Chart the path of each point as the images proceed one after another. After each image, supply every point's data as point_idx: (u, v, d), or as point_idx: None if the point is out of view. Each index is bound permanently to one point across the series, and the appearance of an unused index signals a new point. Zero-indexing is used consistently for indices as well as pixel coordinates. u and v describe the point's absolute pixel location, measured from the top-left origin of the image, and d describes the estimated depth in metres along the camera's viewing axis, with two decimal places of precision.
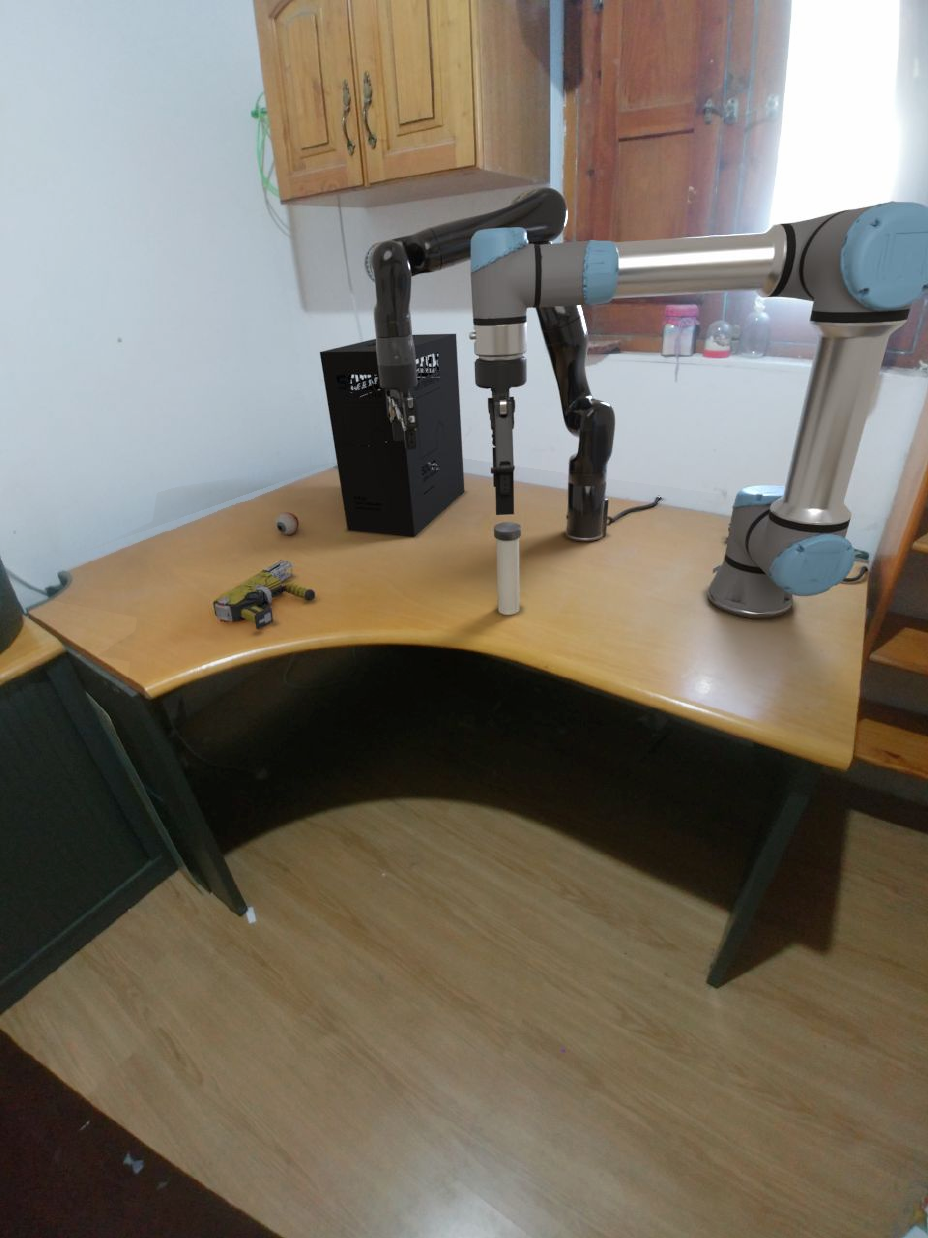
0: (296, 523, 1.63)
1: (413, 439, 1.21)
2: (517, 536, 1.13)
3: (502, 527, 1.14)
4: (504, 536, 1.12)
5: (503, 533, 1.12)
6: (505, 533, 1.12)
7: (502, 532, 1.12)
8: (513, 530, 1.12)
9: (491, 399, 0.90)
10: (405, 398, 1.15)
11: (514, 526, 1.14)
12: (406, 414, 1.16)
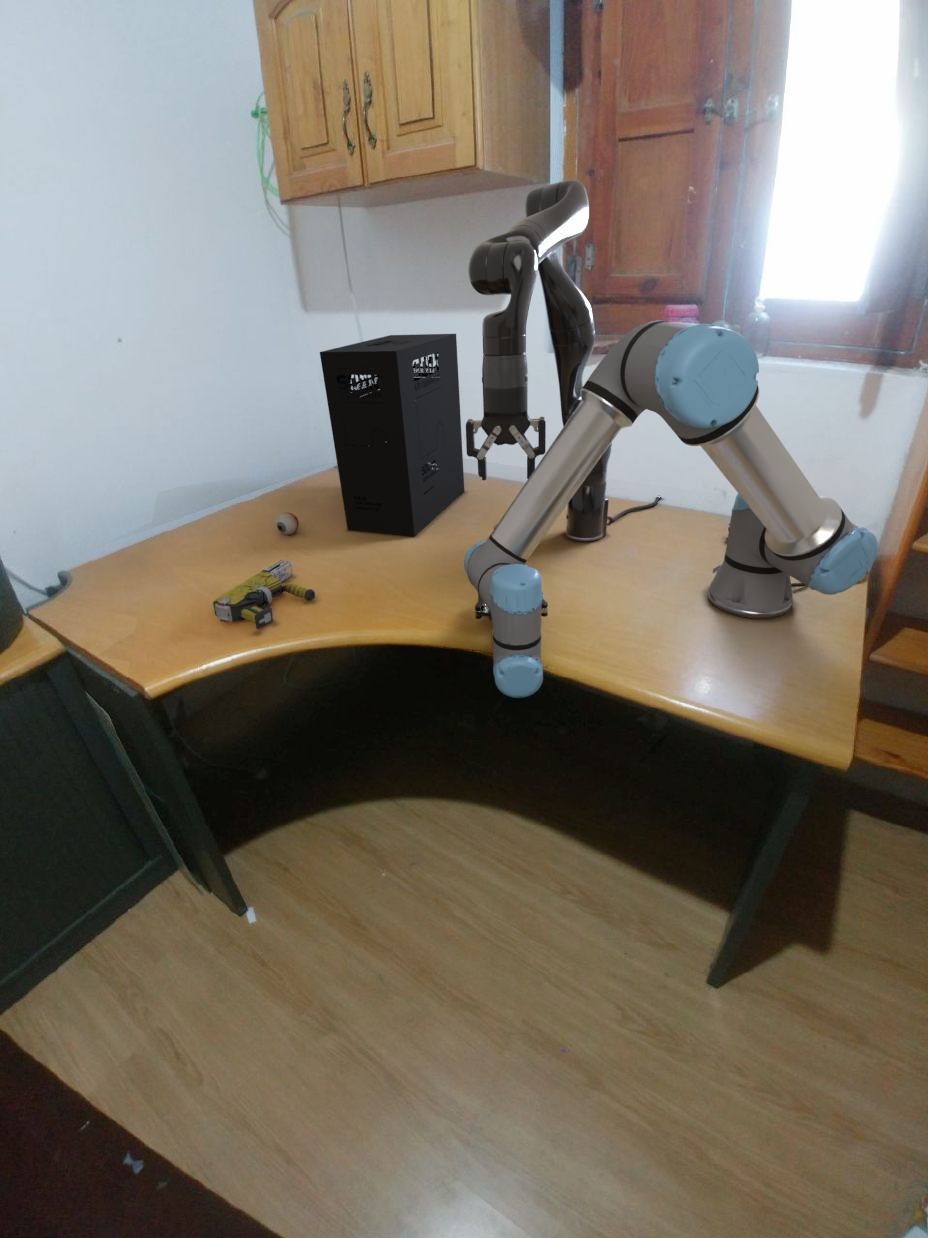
0: (296, 523, 1.63)
1: None
2: None
3: None
4: None
5: None
6: None
7: None
8: None
9: None
10: (544, 420, 1.02)
11: None
12: None
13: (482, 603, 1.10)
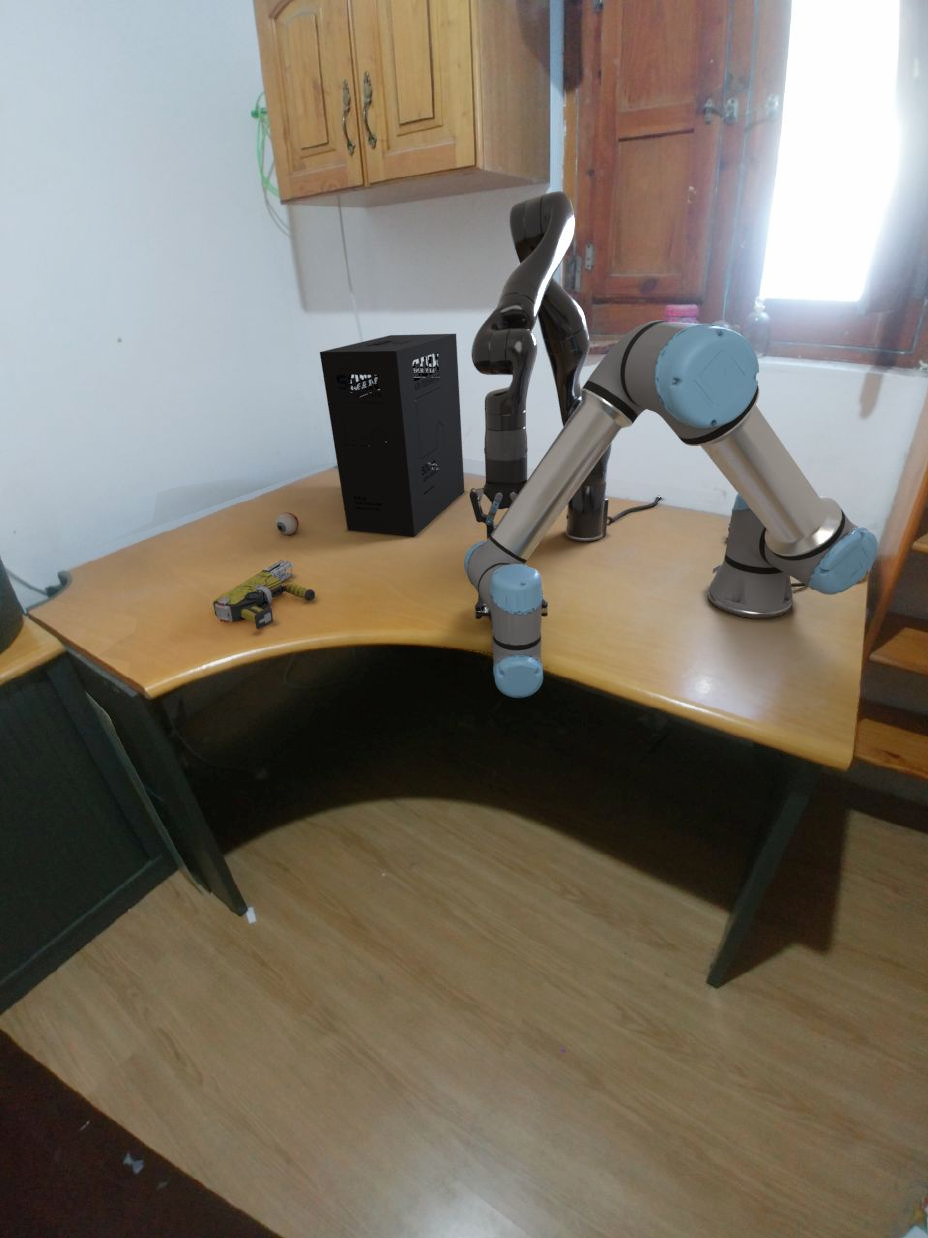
0: (296, 523, 1.63)
1: None
2: None
3: None
4: None
5: None
6: None
7: None
8: None
9: None
10: None
11: None
12: None
13: (482, 603, 1.10)
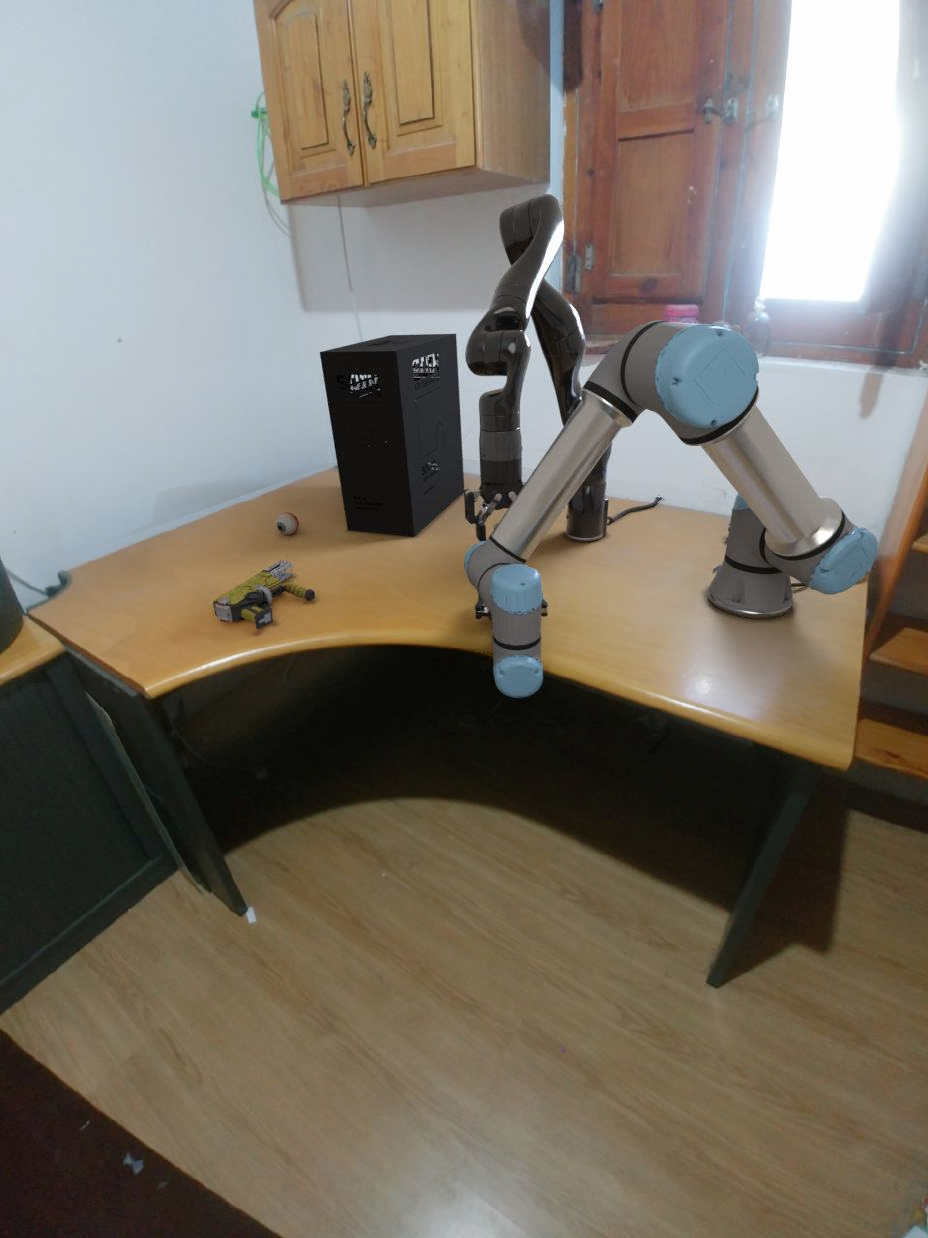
0: (296, 523, 1.63)
1: None
2: None
3: None
4: None
5: None
6: None
7: None
8: None
9: None
10: None
11: None
12: None
13: (482, 603, 1.10)
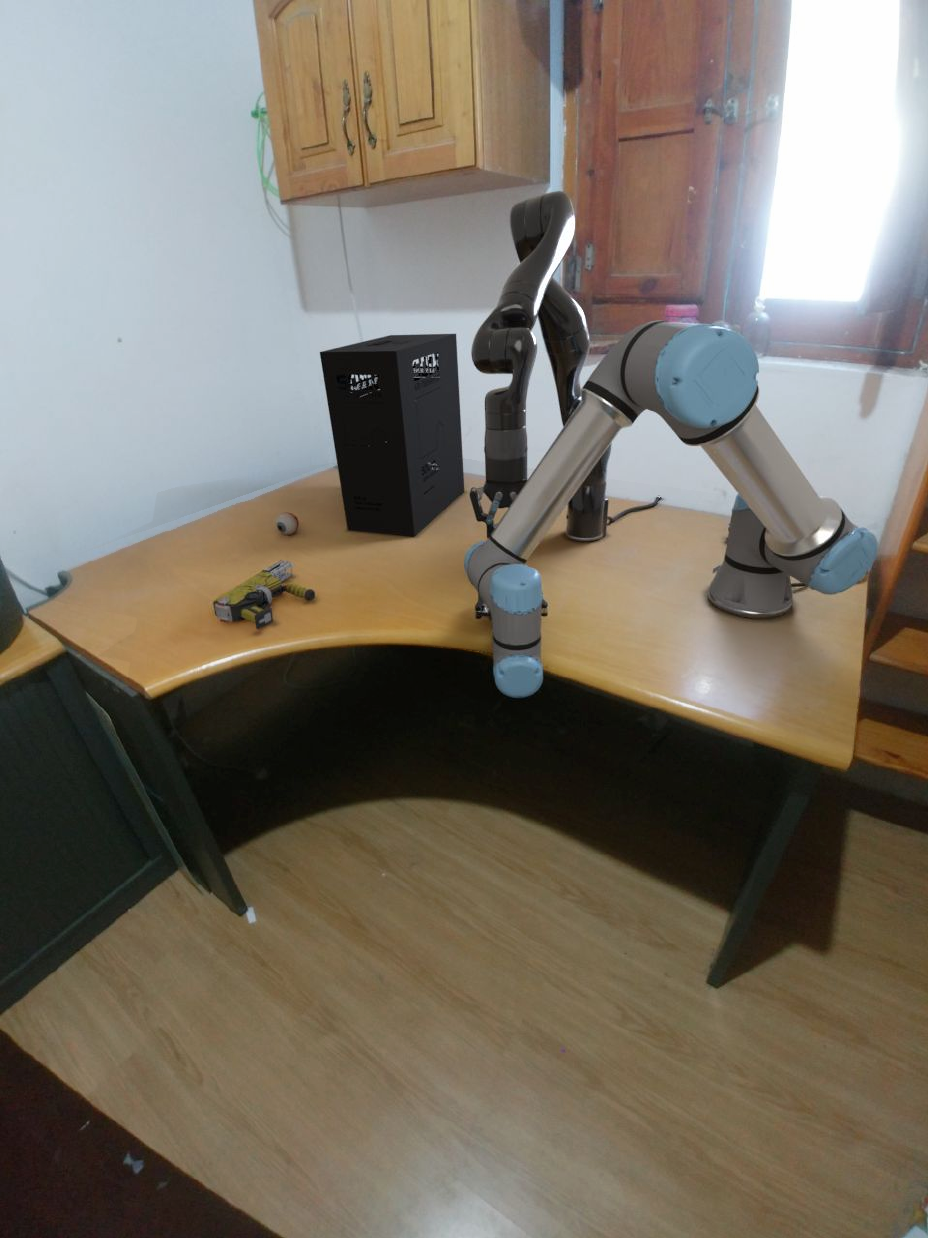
0: (296, 523, 1.63)
1: None
2: None
3: None
4: None
5: None
6: None
7: None
8: None
9: None
10: None
11: None
12: None
13: (482, 603, 1.10)
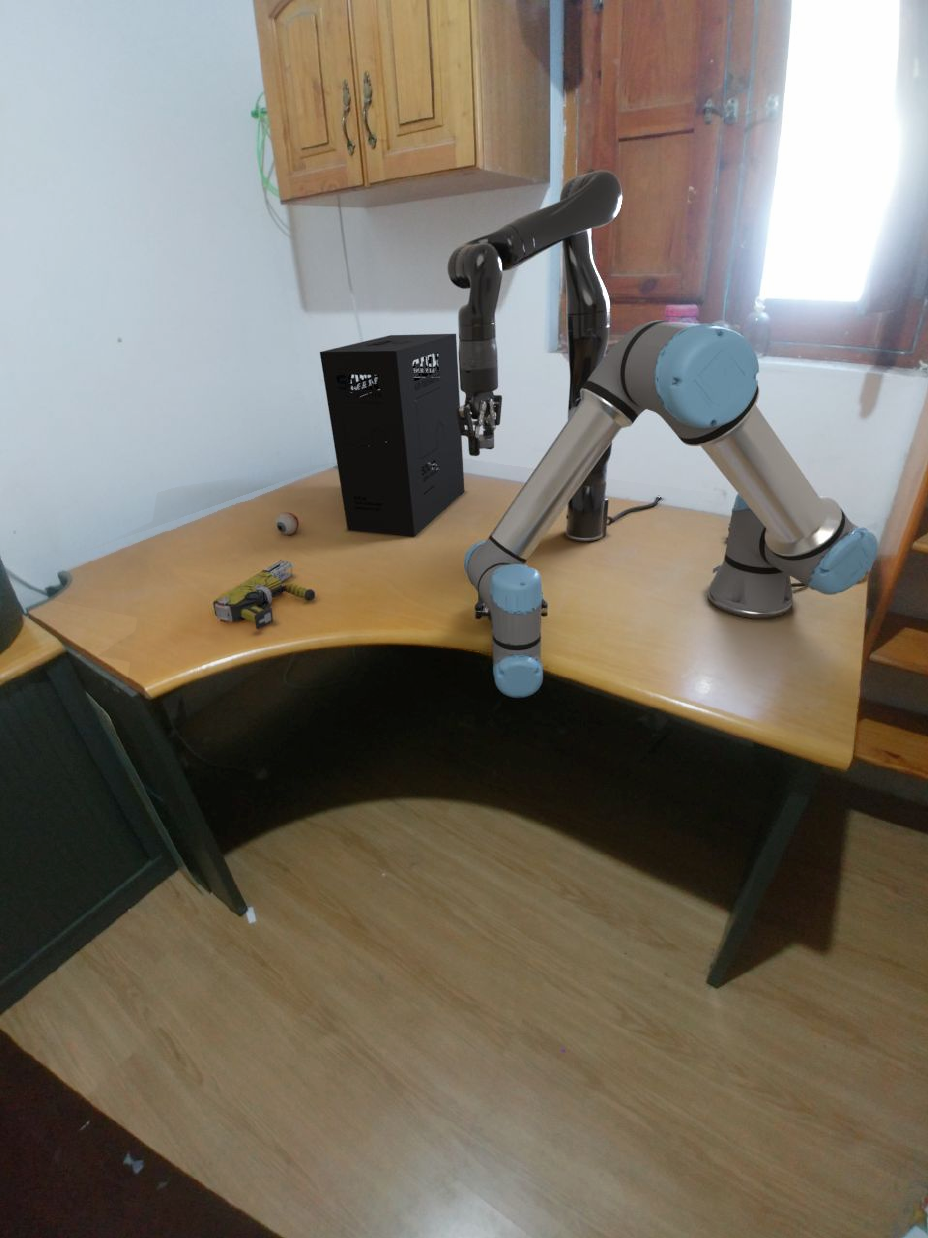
0: (296, 523, 1.63)
1: None
2: None
3: (484, 437, 1.24)
4: None
5: None
6: None
7: (492, 436, 1.25)
8: (485, 434, 1.26)
9: None
10: None
11: None
12: None
13: (482, 603, 1.10)
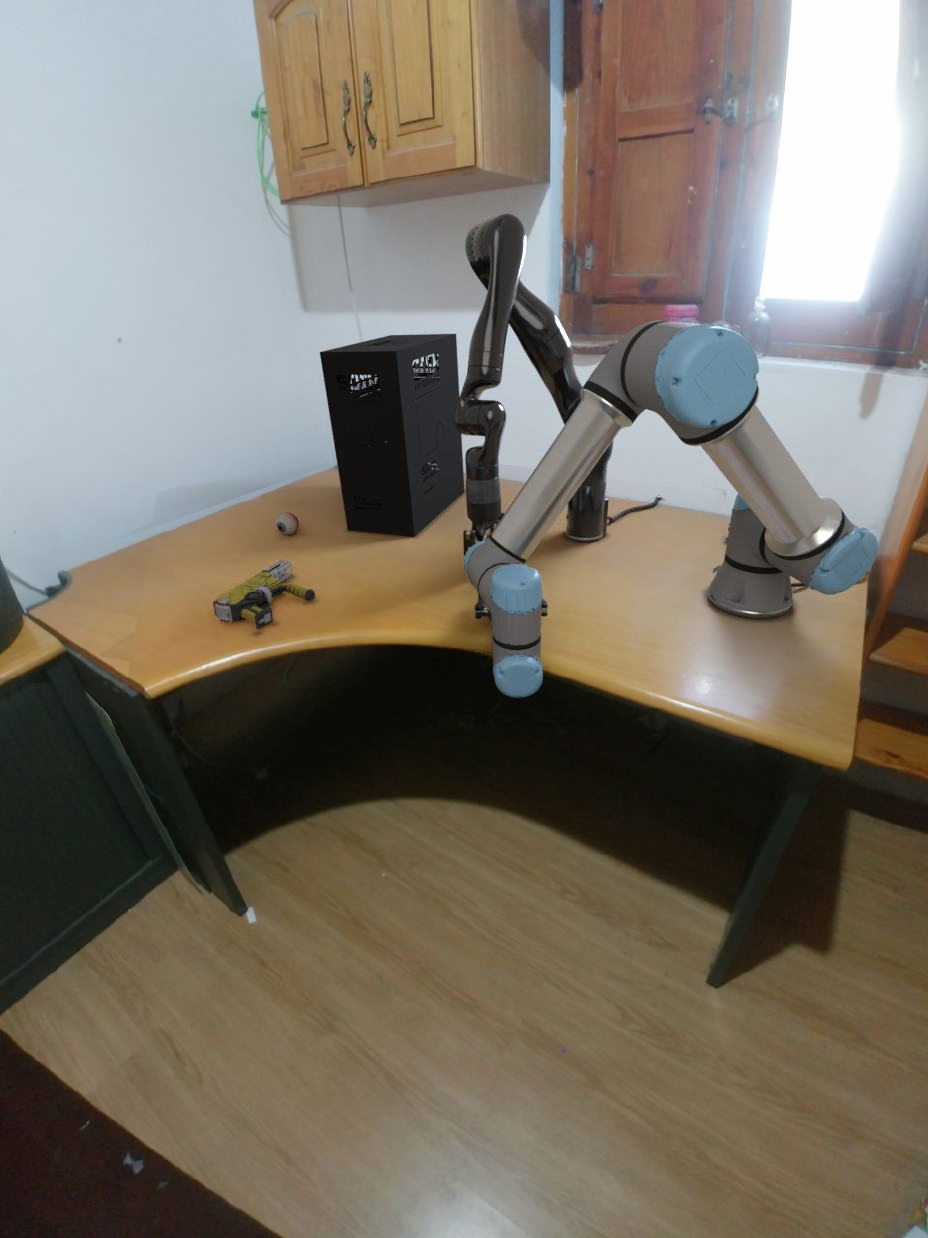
0: (296, 523, 1.63)
1: None
2: None
3: None
4: None
5: None
6: None
7: None
8: None
9: None
10: (502, 513, 1.38)
11: None
12: None
13: (482, 603, 1.10)
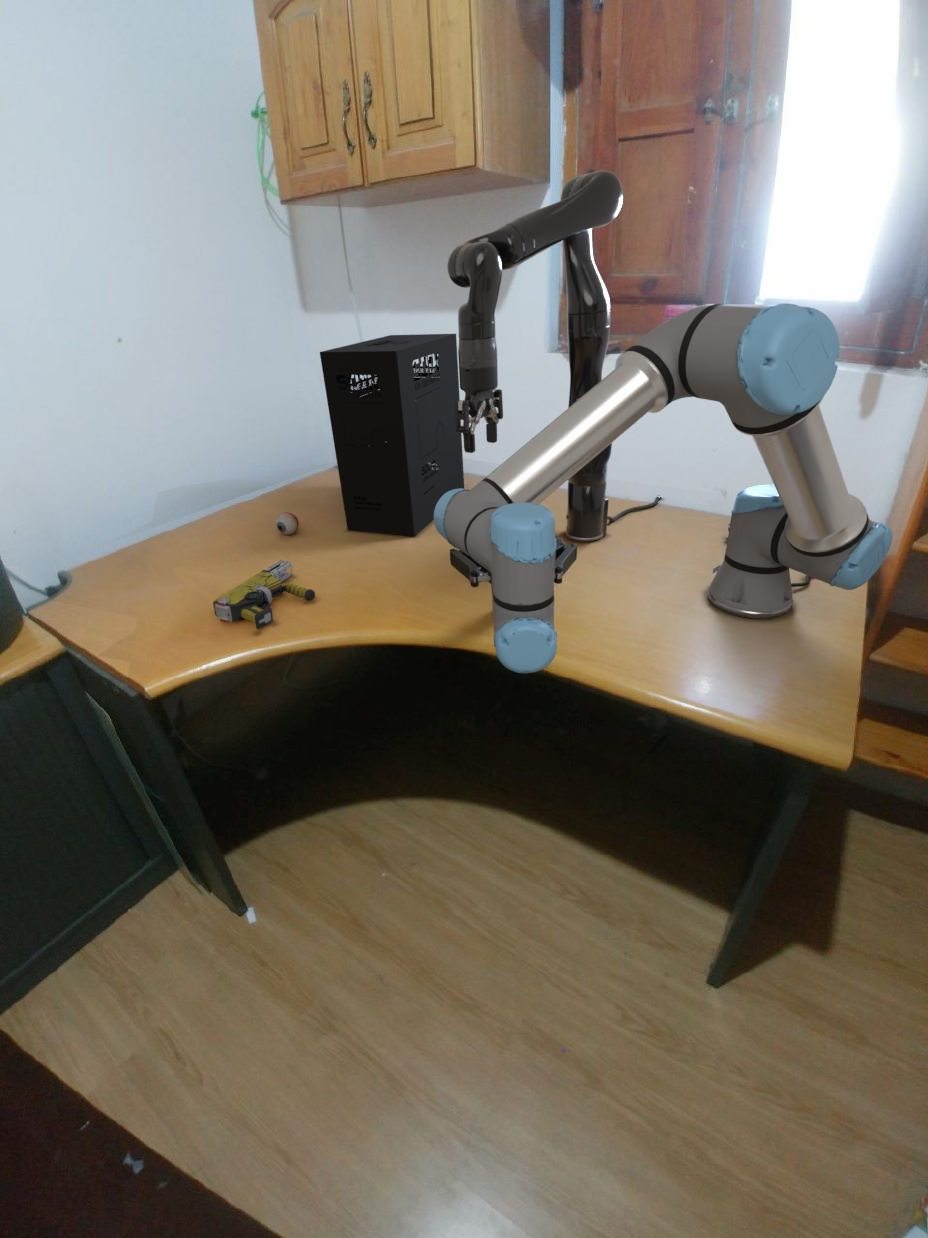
0: (296, 523, 1.63)
1: None
2: None
3: None
4: None
5: None
6: None
7: None
8: None
9: None
10: None
11: None
12: None
13: (475, 567, 0.90)
